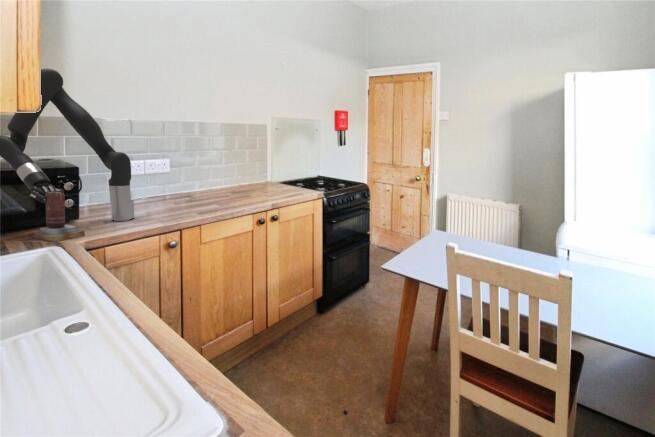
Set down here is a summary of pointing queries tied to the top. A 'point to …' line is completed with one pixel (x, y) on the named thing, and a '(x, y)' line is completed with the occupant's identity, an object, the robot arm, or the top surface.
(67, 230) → the stand
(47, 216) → the can
